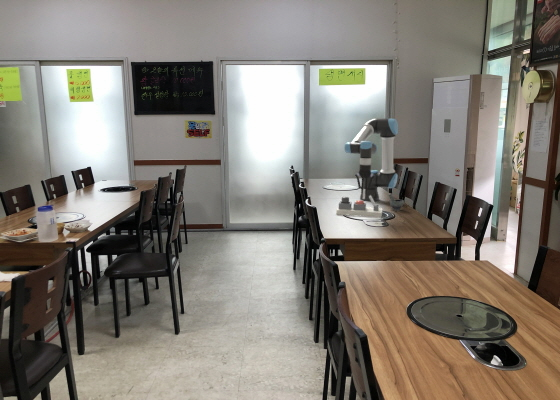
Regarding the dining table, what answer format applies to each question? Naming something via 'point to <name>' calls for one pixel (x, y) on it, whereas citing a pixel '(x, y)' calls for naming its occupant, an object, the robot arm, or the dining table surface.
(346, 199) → the button black
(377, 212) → the console
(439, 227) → the dining table surface
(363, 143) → the robot arm
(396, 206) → the mortar and pestle
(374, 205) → the lever
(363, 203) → the button red
